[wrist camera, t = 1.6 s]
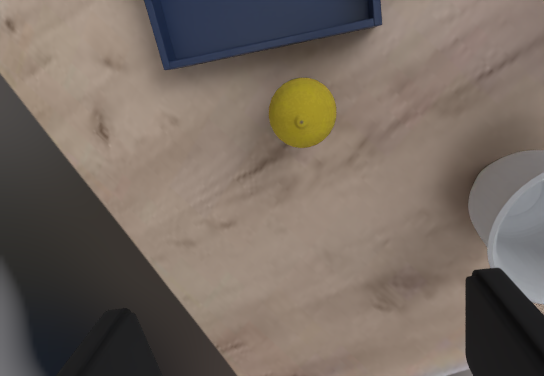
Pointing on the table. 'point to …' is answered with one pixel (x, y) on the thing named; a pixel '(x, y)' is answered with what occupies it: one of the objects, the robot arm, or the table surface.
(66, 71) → the table surface
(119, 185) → the table surface
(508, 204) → the teacup
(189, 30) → the tray
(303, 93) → the lemon
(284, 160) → the table surface
